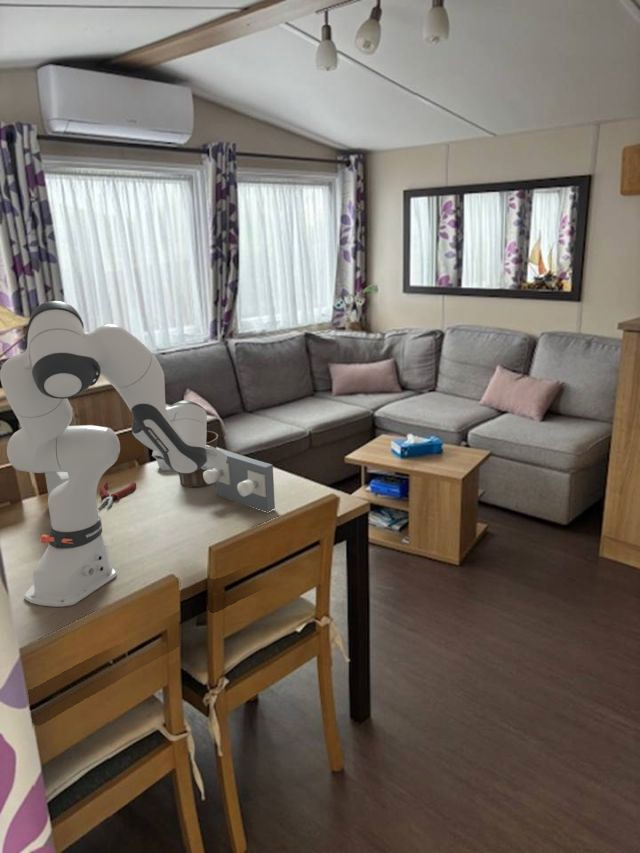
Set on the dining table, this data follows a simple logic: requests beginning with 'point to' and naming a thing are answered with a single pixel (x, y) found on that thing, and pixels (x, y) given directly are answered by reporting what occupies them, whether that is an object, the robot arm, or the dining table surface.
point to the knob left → (212, 475)
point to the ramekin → (163, 465)
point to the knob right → (246, 487)
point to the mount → (242, 470)
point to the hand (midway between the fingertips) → (209, 467)
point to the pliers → (114, 494)
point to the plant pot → (197, 476)
